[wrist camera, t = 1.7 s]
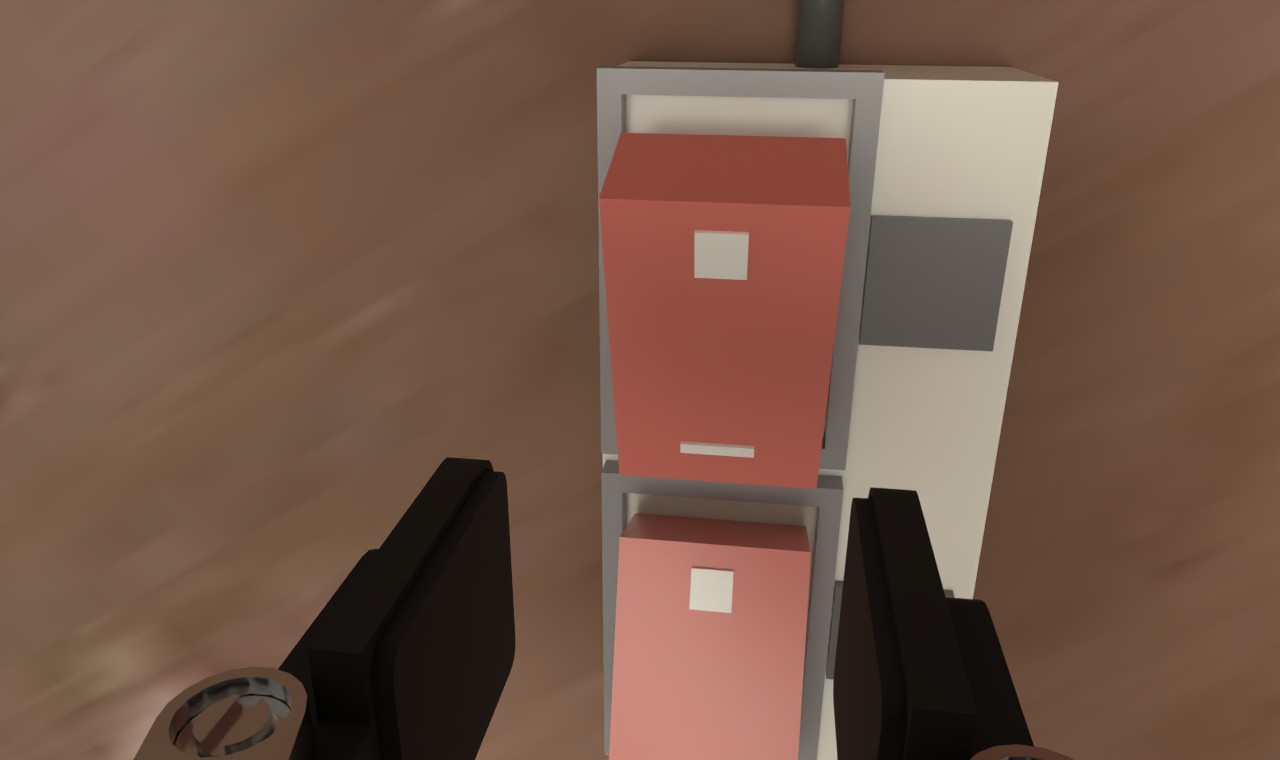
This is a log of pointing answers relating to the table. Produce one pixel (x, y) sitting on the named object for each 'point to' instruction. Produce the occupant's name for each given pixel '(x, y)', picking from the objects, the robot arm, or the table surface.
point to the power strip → (864, 302)
